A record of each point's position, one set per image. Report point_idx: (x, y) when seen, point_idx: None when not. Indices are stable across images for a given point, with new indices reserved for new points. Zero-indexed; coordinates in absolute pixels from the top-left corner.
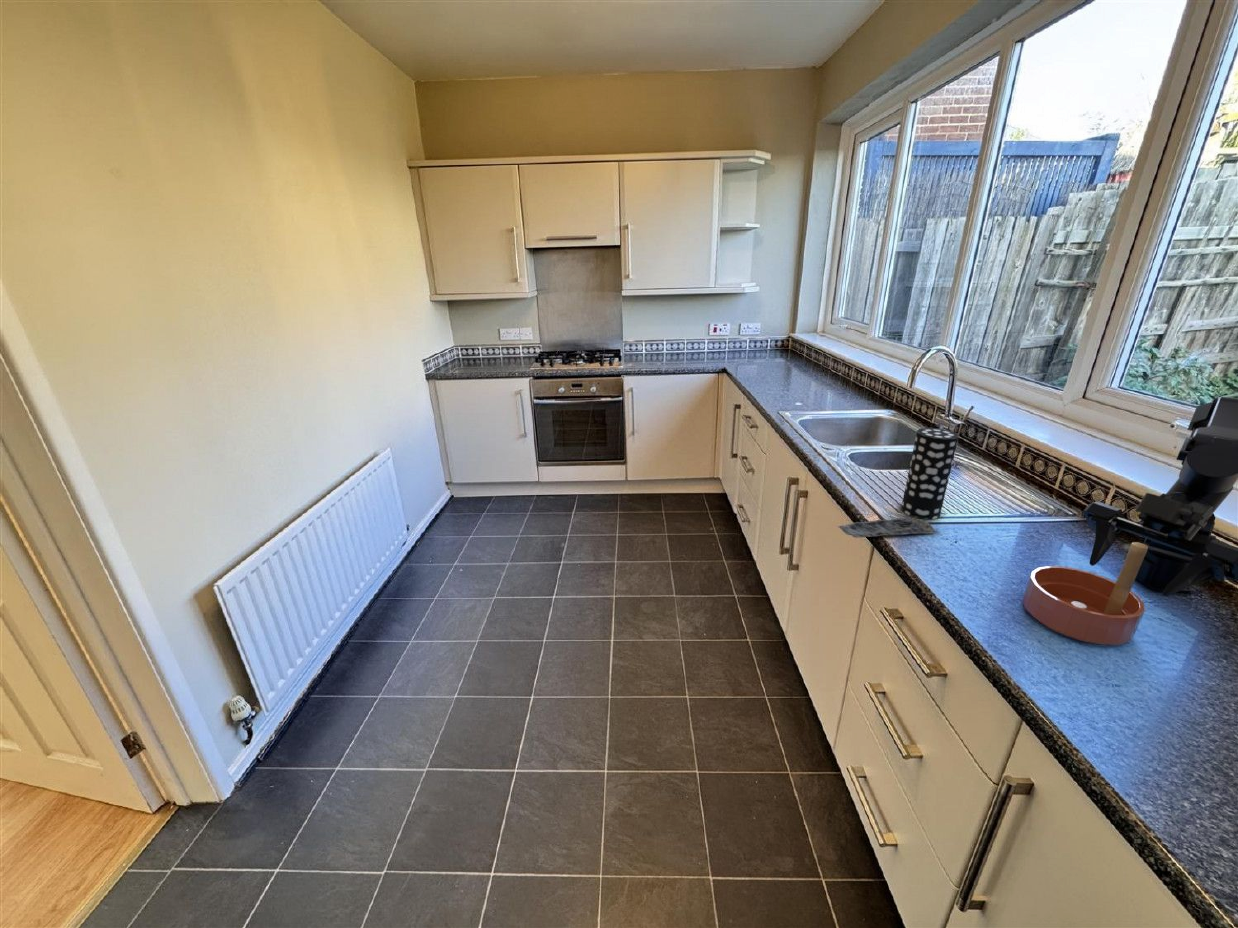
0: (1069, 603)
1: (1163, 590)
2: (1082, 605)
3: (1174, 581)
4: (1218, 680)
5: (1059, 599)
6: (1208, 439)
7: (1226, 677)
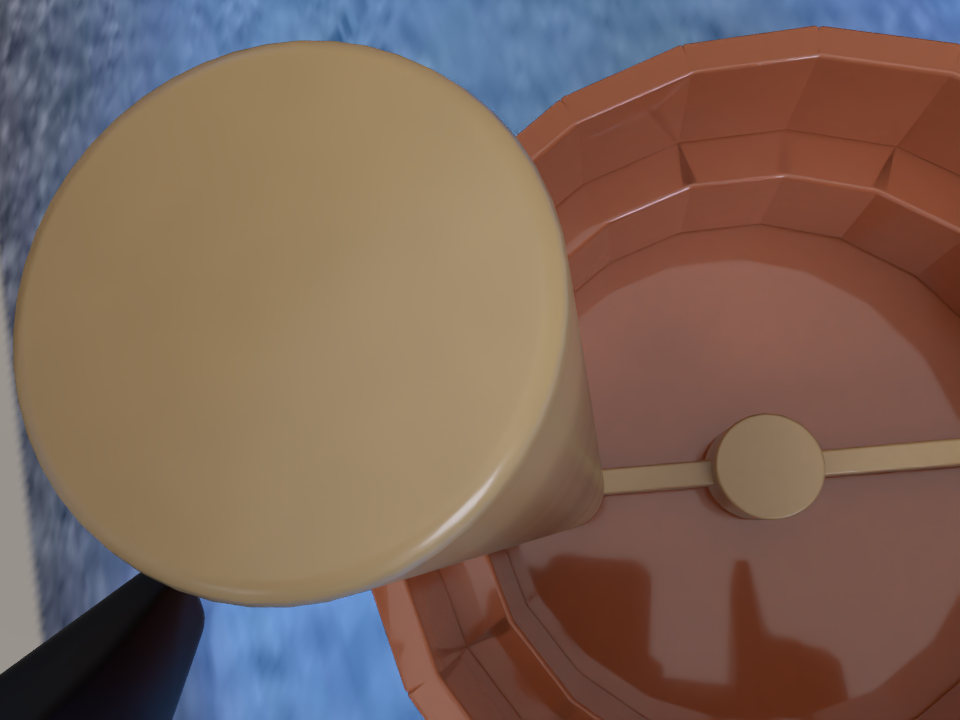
0: (863, 622)
1: (166, 592)
2: (750, 479)
3: (13, 711)
4: (67, 558)
5: (906, 467)
6: None
7: (48, 631)
